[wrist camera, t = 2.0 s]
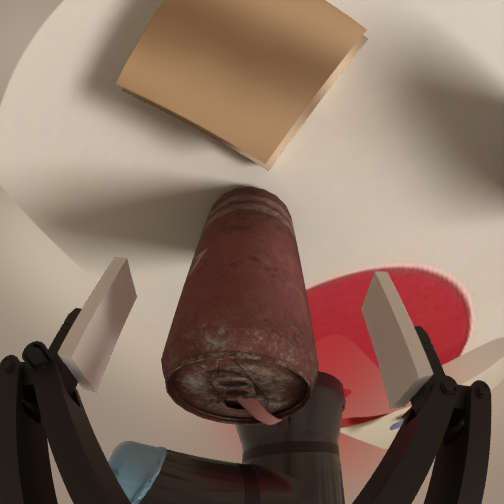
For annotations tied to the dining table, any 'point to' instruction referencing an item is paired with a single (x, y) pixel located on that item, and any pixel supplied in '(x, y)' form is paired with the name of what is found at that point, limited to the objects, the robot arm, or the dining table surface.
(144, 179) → the dining table surface
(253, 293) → the can
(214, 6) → the stand
